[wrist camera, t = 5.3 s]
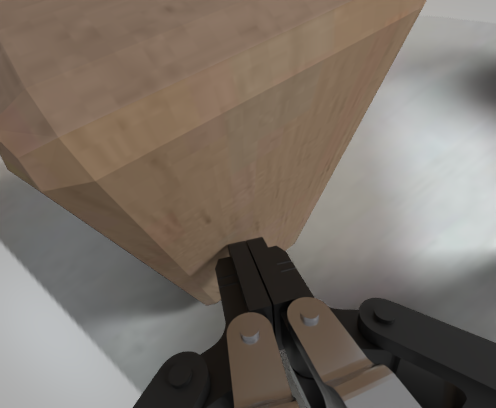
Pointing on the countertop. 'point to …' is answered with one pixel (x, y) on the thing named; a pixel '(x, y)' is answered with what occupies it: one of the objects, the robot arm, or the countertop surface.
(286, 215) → the block
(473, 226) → the countertop surface
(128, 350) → the countertop surface
